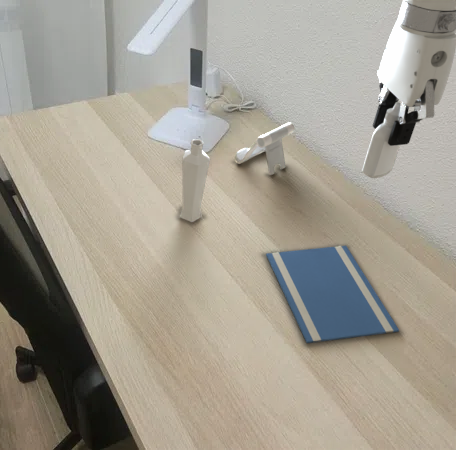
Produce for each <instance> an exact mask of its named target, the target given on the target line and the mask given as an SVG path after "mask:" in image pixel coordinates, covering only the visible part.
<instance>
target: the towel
mask: <svg viewBox="0 0 456 450" xmlns="http://www.w3.org/2000/svg"><path fill="white" fill-rule="evenodd" d="M265 256H266V259H267V260H268V263H269V265H270V267H271V269H272V271H273V273H274V275H275V277H276V280H277V282H278V284H279V287H280V289H281V291H282V293H283V295H284V297H285V299H286V302H287V304H288V306H289V308H290V311H291V313H292V315H293V317H294V319H295V321H296V323H297V326H298V327H299V330H300V332H301V334H302V336H303V338H304V340H305V343H306V344H314V343H320V342H328V341H329V342H330V341H335V340H345V339H353V338H361V337H368V336H374V335H375V336H376V335H384V334H391V333H398V332H400V329H399V327H398V326H397V324H396V322H395V321H394V319H393V318H392V316H391V315H390V312H389V311H388V310H387V308H386V307H385V305H384V303H383V302H382V300H381V299H380V297H379V296H378V293H376V290H375V289H374V287H373V286H372V285H371V283H370V282H369V280H368V278H367V276H366V274H364V272H363V270H362V268H361V267H360V265H359V264H358V262H357V261H356V259H355V257H354V255H353V254H352V253H351V251H350V249H349V248H348V246H347V245H336V246H327V247H319V248H318V247H317V248H308V249H306V248H305V249H299V250H298V249H297V250H288V251H276V252H268V253H266V255H265Z"/></svg>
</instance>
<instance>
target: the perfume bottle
mask: <svg viewBox="0 0 456 450" xmlns="http://www.w3.org/2000/svg"><path fill="white" fill-rule="evenodd" d="M204 144H205V143H204V141H203V140H202V139H199V138H197V139H195V138H194V139H191V141H190V149H188V150H187V149H186V150H185V151H184V153H183V156H182V161H181V165H182V167H181V170H182V171H181V172H182V173H181V175H182V177H181V178H182V179H181V181H182V182H181V183H182V185H181V186H182V189H181V190H182V191H181V192H182V195H181V196H182V197H181V198H182V208H181V212H180V215H179V218H180V219H183V220H185V221H188V222H190V223H193V222H195V221H198V220H199V219H201V218H202V217H203V215H202V211H201V207H202V202H203V196H204V192H205V188H206V182H207V177H208V172H209V168H210V167H209V166H210V162H211V158H210V157H209V155H208V154H207V153H206V152H205V151H204V150H203V147H204Z"/></svg>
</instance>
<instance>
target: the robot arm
mask: <svg viewBox="0 0 456 450" xmlns="http://www.w3.org/2000/svg"><path fill="white" fill-rule="evenodd" d="M455 54H456V0H402V1H401V5H400V8H399V12H398V14H397V18H396V21H395V23H394V25H393V28H392V31H391V33H390V35H389V38H388V40H387V43H386V46H385V48H384V52H383V55H382V58H381V61H380V65H379V69H378V70H377V78H378V81H379V92H380V93H379V95H378V97H377V101H378V106H377V109H376V112H375V116H374V120H373V123H372V128H374V130H376V128H377V127H378V126H379V125H381V124H382V123H384V119H385V115H386V112H387V110H388V109H390V108H393V107H394V105H395V103H396V102H399V101H400V103H401V106H400V113H399V118H398V120H397V121H395V122H394V124H393V127H392V130H391V134H390V137H389V140H388V144H389V145H390V146H394V145H400V146H404V145H408V144H409V143H410V141H411V138H412V137H413V136H412V135H413V133H414V130H415V127H416V124H418V123H420V122H421V121H422V120H427V119H432V118H434V117H435V106H436V105H438V104H439V103H440V102H441V100H442V97H443V95H444V92H445V90H446V86H447V84H448V81H449V77H450V73H451V70H452V66H453V64H454V63H453V62H454V58H455ZM410 108H413V110H411V111H409V109H410Z"/></svg>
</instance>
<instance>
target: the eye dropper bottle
mask: <svg viewBox="0 0 456 450" xmlns="http://www.w3.org/2000/svg"><path fill="white" fill-rule="evenodd" d="M401 103H402V102H399V101H398V102H396V103H395V105H394V107H393V108H390V109H388V110H387V112H386V115H385V119H384V123H382V124H381V125H379V126H378V127H377V128H376V129H374V131H373V133H372V136H371V139H370V142H369V145H368V148H367V152H366V156H365V159H364V163H363V165H362V170H361V173H362V174H363V175H365V176H367V177H368V178H371V179H378V178H382V177H385V176H387V175H389V174H390V173H391V172H392V170H393V168H394V166H395V162H396V161H397V156H398V154H399V151H400V149H401V148H400V147H401V145H394V146H390V145H389V144H388V140H389V137H390V134H391V130H392V127H393V124H394V122H395V121H397V120H398V118H399V113H400V108H401Z"/></svg>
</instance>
